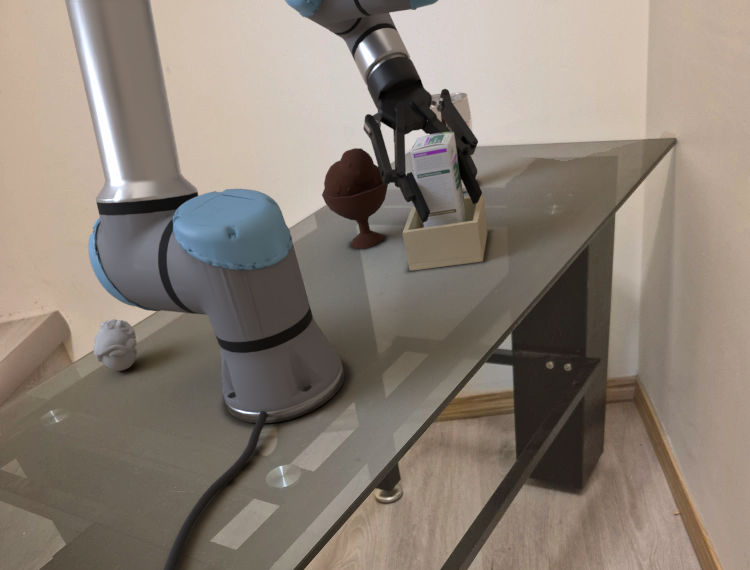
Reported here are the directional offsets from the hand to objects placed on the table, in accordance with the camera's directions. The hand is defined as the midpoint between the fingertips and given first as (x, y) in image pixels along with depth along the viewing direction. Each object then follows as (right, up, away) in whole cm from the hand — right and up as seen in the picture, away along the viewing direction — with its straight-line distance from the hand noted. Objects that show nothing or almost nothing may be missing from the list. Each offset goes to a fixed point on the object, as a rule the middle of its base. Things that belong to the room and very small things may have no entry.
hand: (452, 207), depth 107 cm
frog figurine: (-48, -23, 0) cm, 53 cm away
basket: (0, -4, +7) cm, 8 cm away
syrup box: (0, -3, +6) cm, 7 cm away
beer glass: (+5, +15, +29) cm, 32 cm away
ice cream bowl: (-13, +1, +18) cm, 22 cm away
